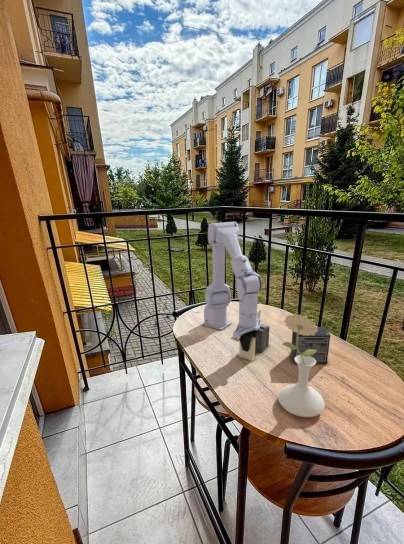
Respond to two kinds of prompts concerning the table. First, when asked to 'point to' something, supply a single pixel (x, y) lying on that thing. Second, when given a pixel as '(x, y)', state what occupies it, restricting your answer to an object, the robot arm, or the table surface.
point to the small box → (313, 345)
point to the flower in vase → (301, 374)
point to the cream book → (251, 353)
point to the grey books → (262, 338)
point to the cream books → (258, 313)
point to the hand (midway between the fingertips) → (247, 349)
